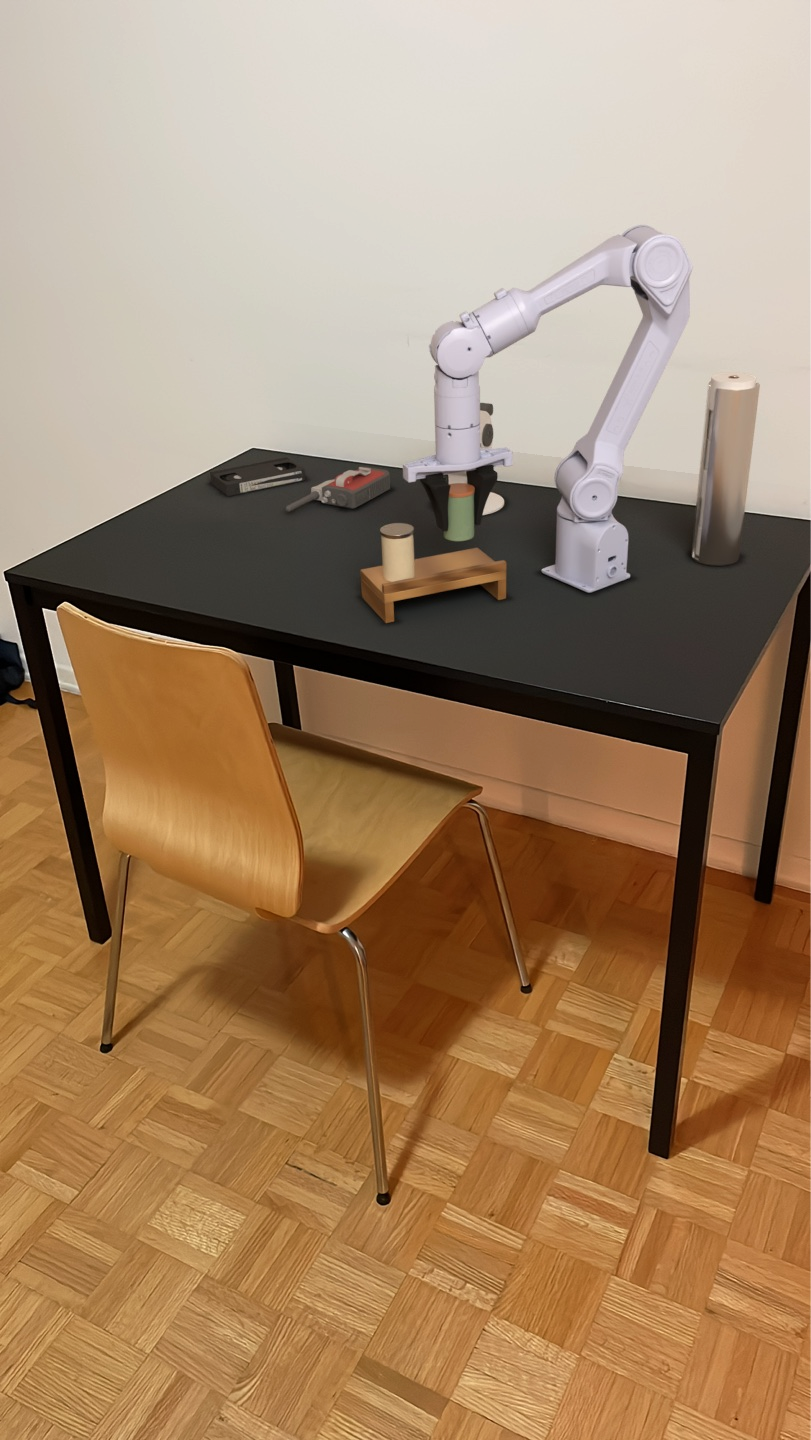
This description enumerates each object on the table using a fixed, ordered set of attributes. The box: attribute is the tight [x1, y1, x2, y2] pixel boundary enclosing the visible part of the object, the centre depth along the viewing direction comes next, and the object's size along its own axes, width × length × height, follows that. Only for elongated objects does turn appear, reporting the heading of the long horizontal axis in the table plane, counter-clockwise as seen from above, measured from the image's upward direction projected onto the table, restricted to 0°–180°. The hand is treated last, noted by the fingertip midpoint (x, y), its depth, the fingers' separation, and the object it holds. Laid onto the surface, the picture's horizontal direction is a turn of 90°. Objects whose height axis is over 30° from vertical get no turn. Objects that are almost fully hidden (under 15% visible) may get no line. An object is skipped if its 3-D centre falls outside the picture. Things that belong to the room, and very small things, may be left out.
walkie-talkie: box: [285, 466, 391, 513], centre depth 183 cm, size 9×4×20 cm
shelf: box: [359, 547, 507, 624], centre depth 149 cm, size 17×9×5 cm, turn 112°
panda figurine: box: [447, 402, 505, 516], centre depth 177 cm, size 12×11×15 cm
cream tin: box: [379, 522, 415, 582], centre depth 145 cm, size 4×4×6 cm
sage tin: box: [442, 483, 475, 542], centre depth 149 cm, size 4×4×6 cm
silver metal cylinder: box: [690, 371, 761, 567], centre depth 152 cm, size 6×6×25 cm
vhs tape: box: [209, 457, 306, 497], centre depth 194 cm, size 14×8×2 cm, turn 119°
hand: (459, 525), depth 150 cm, fingers closed on sage tin, 4 cm apart
